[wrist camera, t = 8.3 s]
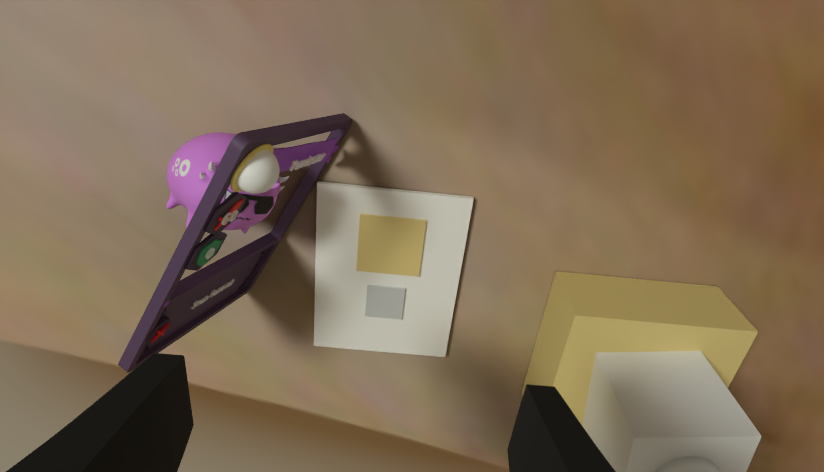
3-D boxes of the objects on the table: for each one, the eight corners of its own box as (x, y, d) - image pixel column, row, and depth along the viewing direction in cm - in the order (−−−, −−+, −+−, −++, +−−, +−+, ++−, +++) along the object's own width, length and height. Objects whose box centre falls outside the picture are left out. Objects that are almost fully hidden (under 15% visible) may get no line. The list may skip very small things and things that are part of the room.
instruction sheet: (473, 196, 20) (473, 200, 20) (444, 354, 24) (445, 358, 24) (317, 181, 20) (316, 184, 20) (314, 342, 24) (313, 347, 23)
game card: (143, 390, 16) (269, 161, 13) (18, 286, 16) (106, 32, 13) (262, 302, 22) (370, 131, 19) (169, 227, 23) (258, 44, 19)
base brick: (717, 286, 22) (758, 331, 19) (661, 404, 25) (690, 456, 23) (555, 271, 22) (575, 315, 19) (521, 392, 25) (533, 444, 23)
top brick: (700, 350, 20) (777, 458, 16) (677, 423, 22) (740, 537, 18) (595, 352, 20) (643, 459, 16) (581, 425, 22) (621, 537, 18)
